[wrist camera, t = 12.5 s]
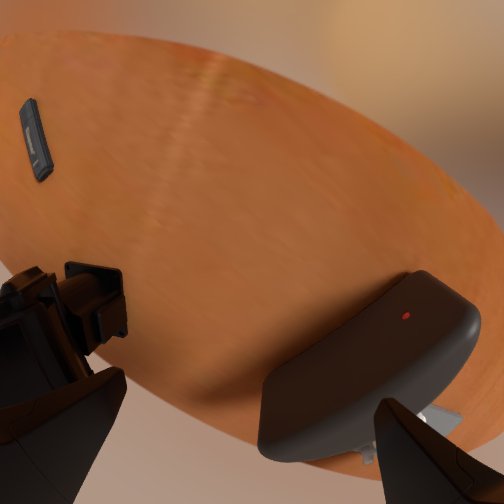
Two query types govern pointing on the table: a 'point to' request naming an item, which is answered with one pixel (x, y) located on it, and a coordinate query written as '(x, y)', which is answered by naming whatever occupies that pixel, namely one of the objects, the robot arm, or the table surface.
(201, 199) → the table surface
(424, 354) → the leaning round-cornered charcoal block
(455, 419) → the pin board
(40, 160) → the usb stick
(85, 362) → the robot arm
